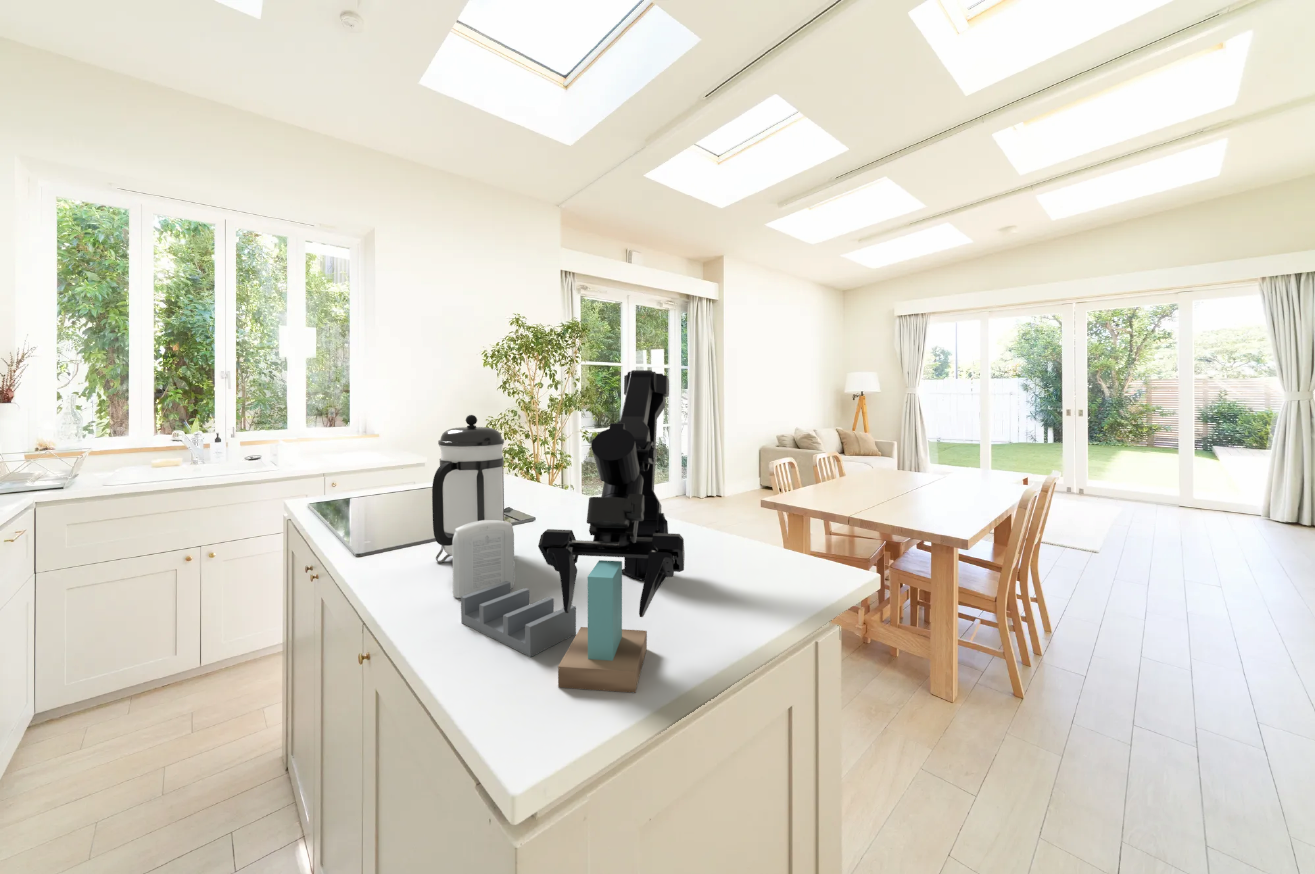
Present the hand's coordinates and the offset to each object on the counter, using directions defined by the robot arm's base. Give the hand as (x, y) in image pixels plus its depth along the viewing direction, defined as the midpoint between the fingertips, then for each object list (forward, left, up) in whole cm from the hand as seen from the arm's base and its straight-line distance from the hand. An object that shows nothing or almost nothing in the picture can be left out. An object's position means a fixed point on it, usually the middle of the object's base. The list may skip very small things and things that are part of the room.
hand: (603, 613), depth 59 cm
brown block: (-1, -1, -7) cm, 7 cm away
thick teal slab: (-1, -1, -5) cm, 5 cm away
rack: (+1, -18, -7) cm, 19 cm away
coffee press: (-10, -52, -8) cm, 54 cm away
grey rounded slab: (-3, -34, -8) cm, 35 cm away
